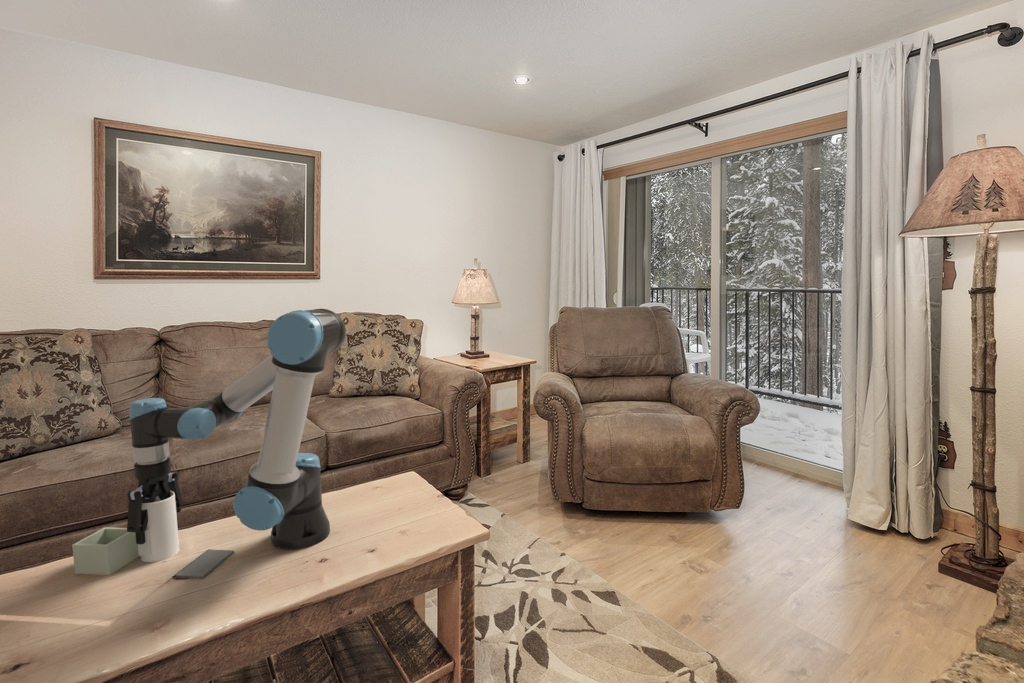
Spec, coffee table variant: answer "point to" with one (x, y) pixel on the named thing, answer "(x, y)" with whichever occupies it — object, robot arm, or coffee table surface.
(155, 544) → the cup
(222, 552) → the coaster
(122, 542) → the planter
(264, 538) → the coffee table surface
